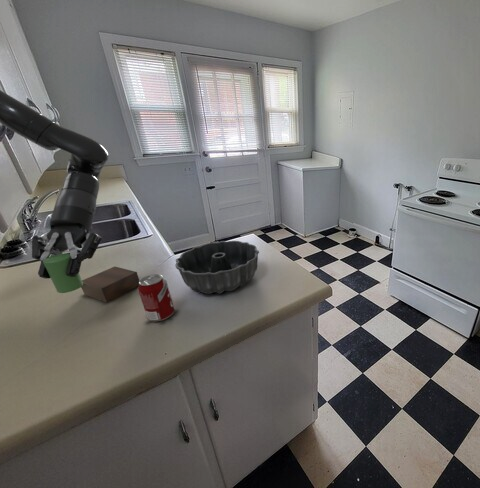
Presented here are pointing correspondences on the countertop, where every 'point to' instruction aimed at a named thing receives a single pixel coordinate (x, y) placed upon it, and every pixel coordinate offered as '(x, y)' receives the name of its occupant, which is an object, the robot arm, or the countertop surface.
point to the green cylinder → (62, 273)
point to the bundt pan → (218, 266)
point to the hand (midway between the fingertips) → (58, 276)
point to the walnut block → (110, 283)
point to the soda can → (156, 297)
